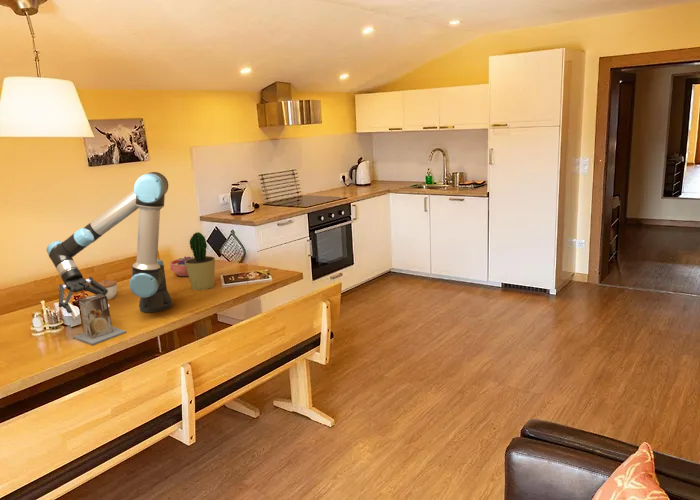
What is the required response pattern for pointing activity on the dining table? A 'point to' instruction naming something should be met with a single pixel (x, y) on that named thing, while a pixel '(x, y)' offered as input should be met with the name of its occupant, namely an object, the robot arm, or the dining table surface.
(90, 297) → the coffee box
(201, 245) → the potted cactus
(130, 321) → the dining table surface
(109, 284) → the lidded jar
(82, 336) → the mat
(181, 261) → the cell model
